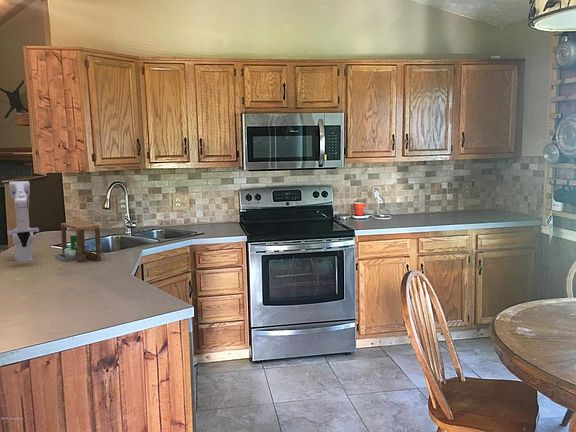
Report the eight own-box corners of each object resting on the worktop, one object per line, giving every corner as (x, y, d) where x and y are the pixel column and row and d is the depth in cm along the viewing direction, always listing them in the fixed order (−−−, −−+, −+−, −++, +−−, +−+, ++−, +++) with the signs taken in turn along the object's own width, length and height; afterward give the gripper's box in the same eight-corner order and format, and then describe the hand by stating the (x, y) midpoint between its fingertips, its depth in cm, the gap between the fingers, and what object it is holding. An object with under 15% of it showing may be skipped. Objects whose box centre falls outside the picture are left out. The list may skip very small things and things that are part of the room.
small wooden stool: (62, 257, 285) (60, 223, 282) (83, 254, 293) (82, 221, 291) (79, 263, 269) (77, 227, 267) (100, 260, 278) (99, 225, 275)
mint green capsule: (67, 259, 277) (67, 250, 276) (74, 258, 279) (74, 249, 279) (70, 260, 274) (70, 251, 274) (77, 259, 277) (76, 250, 276)
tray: (55, 259, 279) (55, 254, 279) (77, 256, 287) (77, 251, 287) (64, 263, 271) (63, 258, 270) (86, 259, 279) (86, 255, 279)
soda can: (70, 253, 294) (69, 233, 293) (72, 251, 301) (71, 231, 300) (84, 253, 296) (83, 232, 295) (85, 250, 303) (84, 230, 302)
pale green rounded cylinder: (63, 257, 281) (63, 248, 280) (70, 256, 283) (69, 248, 283) (66, 258, 278) (66, 249, 278) (73, 257, 281) (72, 248, 280)
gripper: (9, 223, 253) (11, 249, 255) (40, 220, 263) (41, 246, 265) (5, 221, 258) (7, 247, 259) (35, 218, 268) (37, 244, 270)
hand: (24, 246), depth 262 cm, fingers closed
